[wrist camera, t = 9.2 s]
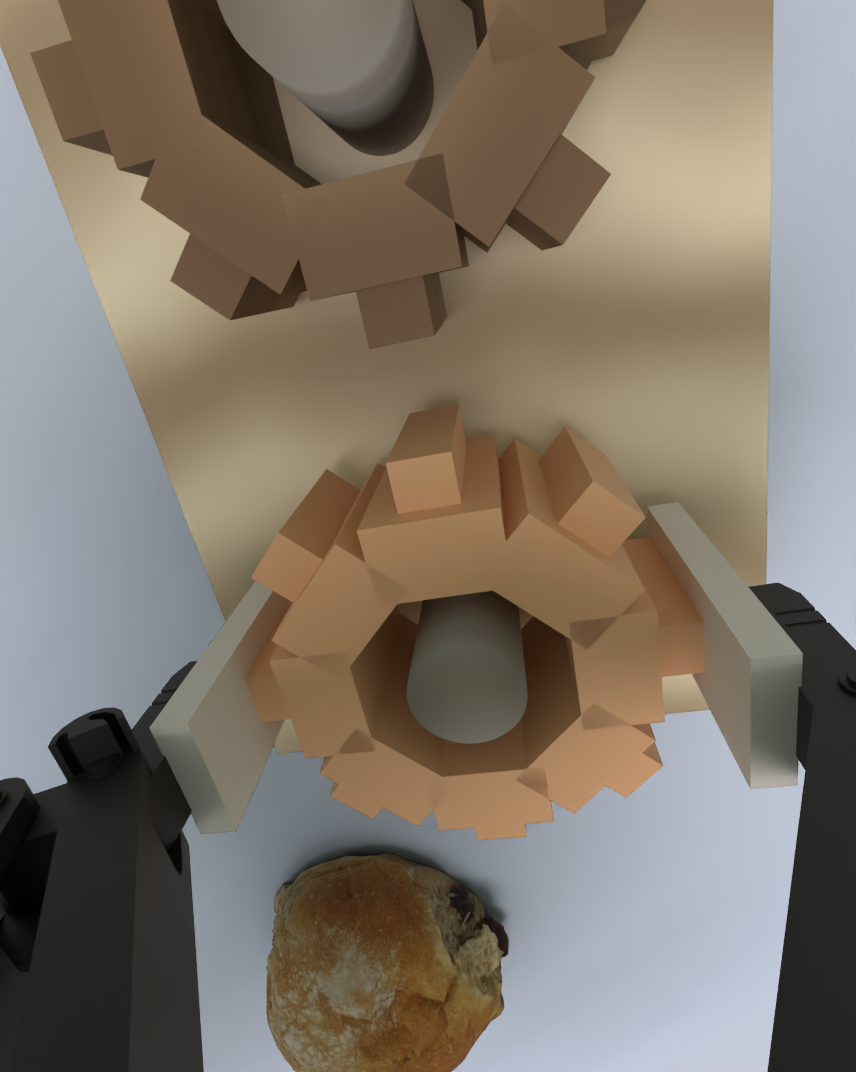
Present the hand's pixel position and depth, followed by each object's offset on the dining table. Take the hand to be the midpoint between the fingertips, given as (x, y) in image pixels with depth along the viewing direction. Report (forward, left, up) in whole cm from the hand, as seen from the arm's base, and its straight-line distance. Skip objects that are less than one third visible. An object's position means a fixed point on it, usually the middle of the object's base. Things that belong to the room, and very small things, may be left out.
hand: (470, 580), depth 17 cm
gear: (0, 0, 0) cm, 0 cm away
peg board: (+6, 0, -3) cm, 7 cm away
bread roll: (-18, +7, -4) cm, 20 cm away
